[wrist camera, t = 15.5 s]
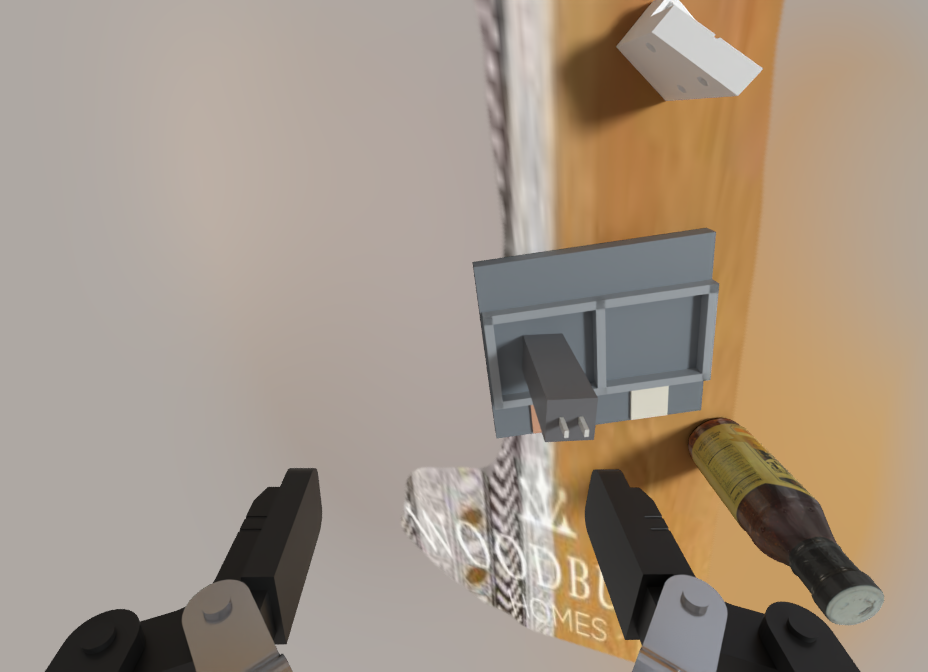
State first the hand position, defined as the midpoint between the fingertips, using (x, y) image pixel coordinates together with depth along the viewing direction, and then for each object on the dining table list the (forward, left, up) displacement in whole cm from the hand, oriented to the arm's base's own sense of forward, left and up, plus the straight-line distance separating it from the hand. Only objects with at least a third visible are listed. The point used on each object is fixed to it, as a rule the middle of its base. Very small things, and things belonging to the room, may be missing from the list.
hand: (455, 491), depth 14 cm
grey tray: (+11, +12, -30) cm, 34 cm away
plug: (+11, +7, -28) cm, 31 cm away
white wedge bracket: (-12, +18, -30) cm, 37 cm away
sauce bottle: (+25, +25, -30) cm, 47 cm away
